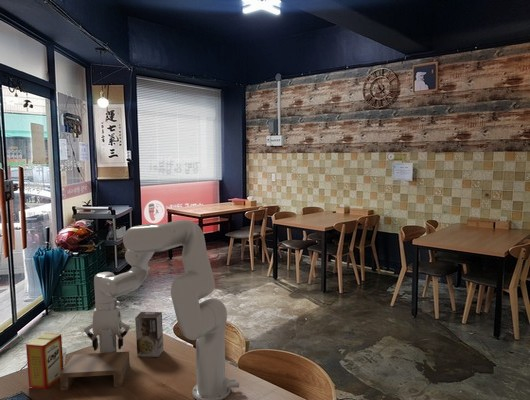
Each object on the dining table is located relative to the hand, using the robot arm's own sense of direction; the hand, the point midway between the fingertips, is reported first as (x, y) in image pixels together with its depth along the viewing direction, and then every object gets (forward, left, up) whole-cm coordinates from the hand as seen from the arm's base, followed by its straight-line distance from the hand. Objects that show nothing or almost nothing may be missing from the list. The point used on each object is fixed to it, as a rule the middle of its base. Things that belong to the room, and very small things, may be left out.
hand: (108, 348), depth 167 cm
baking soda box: (+18, +13, -5) cm, 23 cm away
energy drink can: (0, 0, -5) cm, 5 cm away
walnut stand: (+1, +13, -5) cm, 14 cm away
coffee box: (-15, -5, -5) cm, 17 cm away
